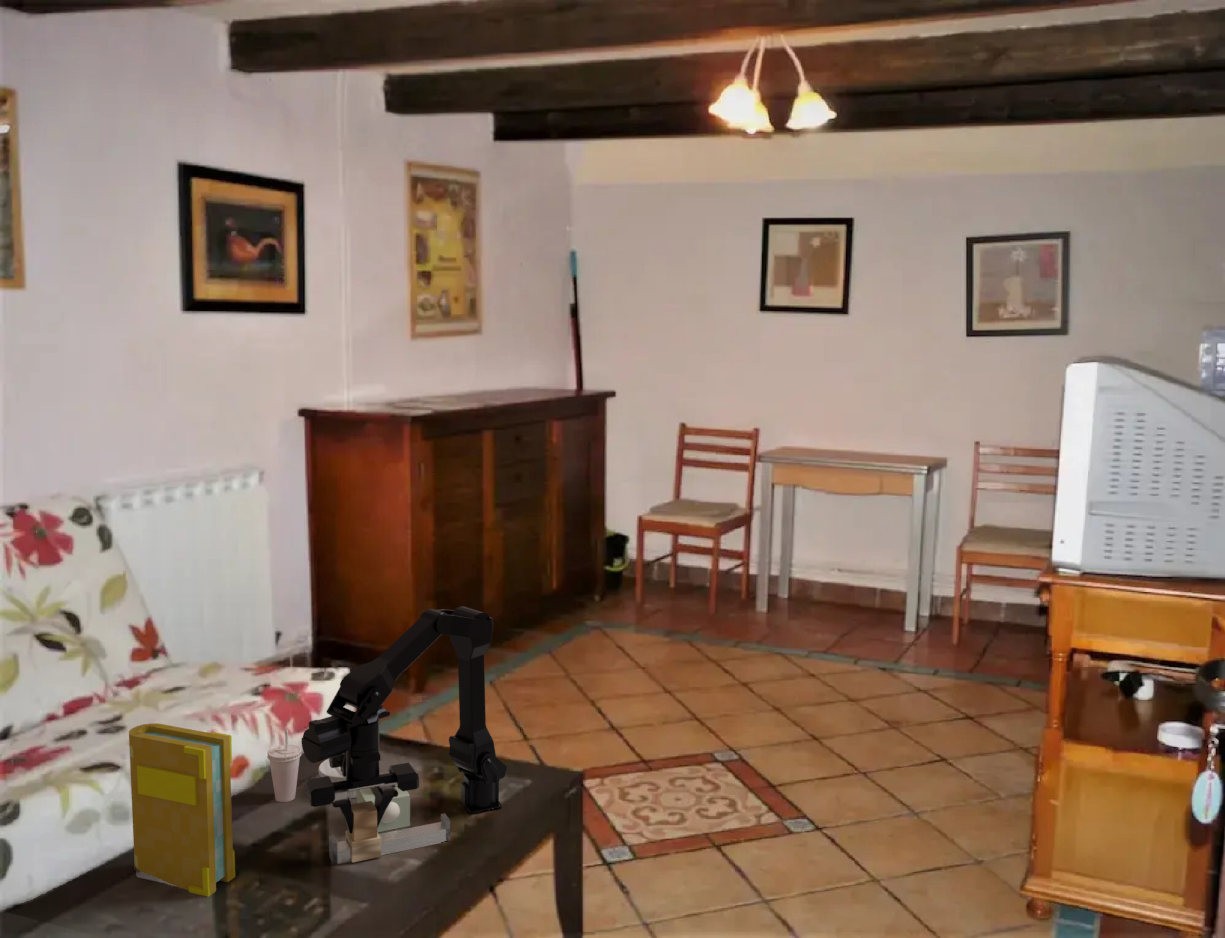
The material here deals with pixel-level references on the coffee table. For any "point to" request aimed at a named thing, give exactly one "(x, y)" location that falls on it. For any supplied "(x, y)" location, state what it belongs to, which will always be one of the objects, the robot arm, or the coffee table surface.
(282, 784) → the smoothie
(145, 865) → the book
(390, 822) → the cabinet
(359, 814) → the carriage
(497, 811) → the coffee table surface
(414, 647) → the robot arm
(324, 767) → the ramekin
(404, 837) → the rail
